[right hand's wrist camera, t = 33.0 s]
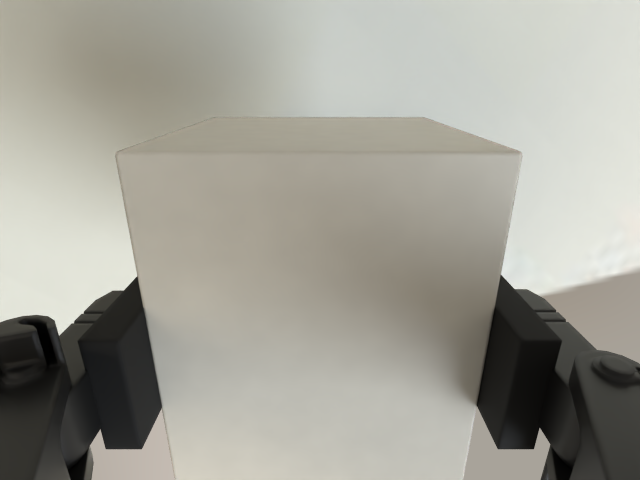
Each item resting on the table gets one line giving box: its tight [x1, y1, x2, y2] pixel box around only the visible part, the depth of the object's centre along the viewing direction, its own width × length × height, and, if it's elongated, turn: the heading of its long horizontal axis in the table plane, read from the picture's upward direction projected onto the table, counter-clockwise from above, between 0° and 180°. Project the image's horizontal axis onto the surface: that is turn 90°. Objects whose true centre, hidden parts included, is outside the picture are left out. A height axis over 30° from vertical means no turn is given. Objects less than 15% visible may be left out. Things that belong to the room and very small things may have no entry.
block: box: [115, 117, 522, 480], centre depth 12 cm, size 8×9×7 cm
